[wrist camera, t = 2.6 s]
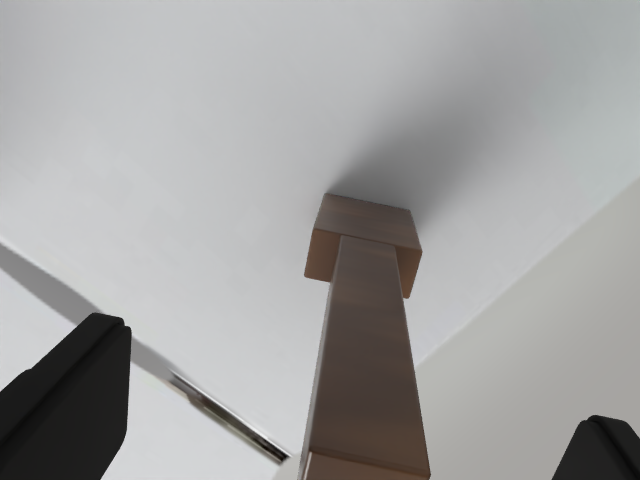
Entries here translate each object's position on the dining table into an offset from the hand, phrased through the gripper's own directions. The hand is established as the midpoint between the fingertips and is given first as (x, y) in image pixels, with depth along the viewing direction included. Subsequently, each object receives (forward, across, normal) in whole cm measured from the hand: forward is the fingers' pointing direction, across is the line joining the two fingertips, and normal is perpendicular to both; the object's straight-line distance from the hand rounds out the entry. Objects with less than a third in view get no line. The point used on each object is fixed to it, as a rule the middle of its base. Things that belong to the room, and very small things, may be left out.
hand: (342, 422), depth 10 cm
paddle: (+13, 0, 0) cm, 13 cm away
